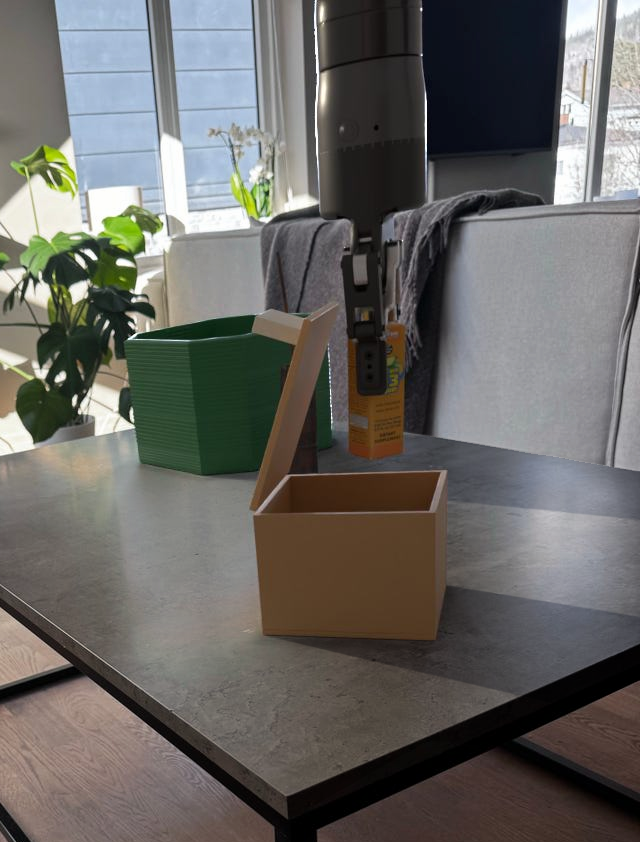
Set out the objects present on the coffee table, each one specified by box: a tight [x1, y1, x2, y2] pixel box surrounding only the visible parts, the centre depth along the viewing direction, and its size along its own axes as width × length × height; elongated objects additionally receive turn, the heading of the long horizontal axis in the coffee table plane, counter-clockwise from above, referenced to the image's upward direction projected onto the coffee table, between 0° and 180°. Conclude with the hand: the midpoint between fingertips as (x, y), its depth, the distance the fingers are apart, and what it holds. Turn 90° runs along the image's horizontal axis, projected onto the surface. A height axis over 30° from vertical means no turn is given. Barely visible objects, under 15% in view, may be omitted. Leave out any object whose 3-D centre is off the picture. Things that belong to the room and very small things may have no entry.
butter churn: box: [275, 251, 319, 475], centre depth 114 cm, size 9×10×28 cm
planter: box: [123, 312, 334, 476], centre depth 137 cm, size 26×26×18 cm
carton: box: [252, 469, 448, 641], centre depth 77 cm, size 14×12×10 cm
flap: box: [248, 300, 341, 513], centre depth 74 cm, size 15×12×5 cm
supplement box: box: [346, 322, 406, 461], centre depth 71 cm, size 3×3×10 cm
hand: (376, 387), depth 71 cm, fingers closed on supplement box, 4 cm apart
